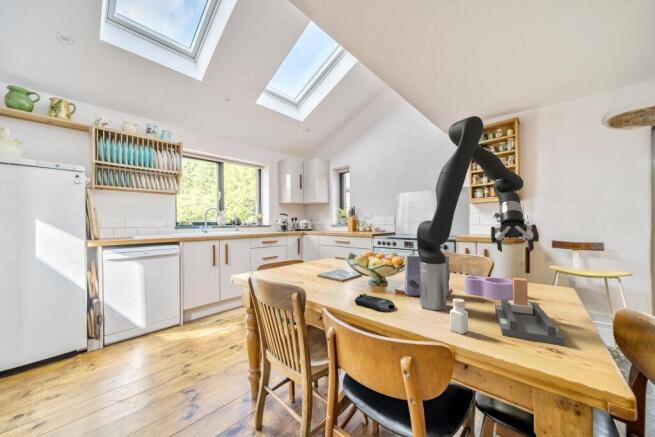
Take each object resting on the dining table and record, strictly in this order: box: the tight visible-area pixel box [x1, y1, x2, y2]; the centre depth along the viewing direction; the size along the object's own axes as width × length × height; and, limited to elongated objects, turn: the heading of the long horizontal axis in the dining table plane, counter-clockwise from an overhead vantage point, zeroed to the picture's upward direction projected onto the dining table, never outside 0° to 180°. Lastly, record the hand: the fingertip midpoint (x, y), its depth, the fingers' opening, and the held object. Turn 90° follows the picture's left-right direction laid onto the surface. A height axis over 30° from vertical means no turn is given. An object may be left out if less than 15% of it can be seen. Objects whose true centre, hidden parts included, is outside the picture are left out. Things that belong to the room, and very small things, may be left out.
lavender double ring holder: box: [464, 275, 513, 302], centre depth 113 cm, size 20×12×7 cm, turn 52°
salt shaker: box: [449, 298, 469, 335], centre depth 79 cm, size 4×4×10 cm
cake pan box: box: [404, 254, 451, 297], centre depth 115 cm, size 19×5×18 cm, turn 85°
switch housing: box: [494, 298, 566, 347], centre depth 82 cm, size 22×14×5 cm, turn 152°
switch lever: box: [508, 277, 533, 314], centre depth 88 cm, size 5×6×11 cm
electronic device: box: [354, 293, 396, 312], centre depth 103 cm, size 9×6×15 cm
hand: (515, 250), depth 93 cm, fingers open, 8 cm apart
